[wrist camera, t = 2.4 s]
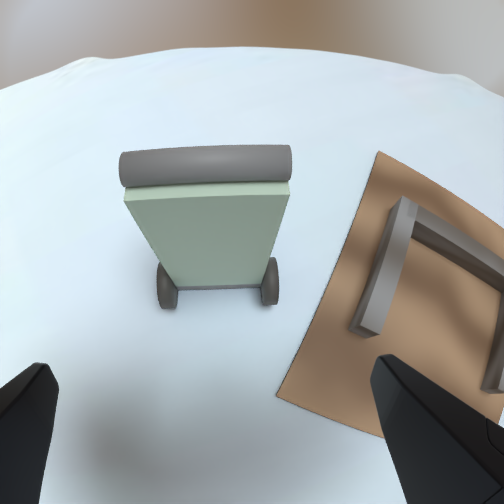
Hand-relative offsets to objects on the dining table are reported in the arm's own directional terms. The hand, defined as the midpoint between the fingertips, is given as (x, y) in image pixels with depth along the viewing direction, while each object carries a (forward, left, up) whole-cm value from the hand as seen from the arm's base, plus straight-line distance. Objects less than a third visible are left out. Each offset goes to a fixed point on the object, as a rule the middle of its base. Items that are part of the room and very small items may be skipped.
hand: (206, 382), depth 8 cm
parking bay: (+14, -9, -13) cm, 21 cm away
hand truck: (+4, +5, -13) cm, 15 cm away
